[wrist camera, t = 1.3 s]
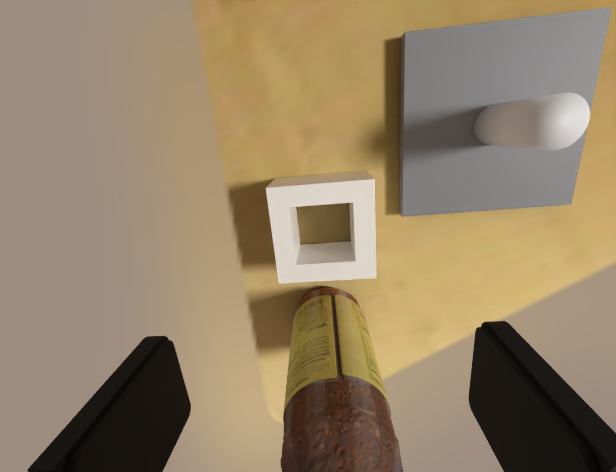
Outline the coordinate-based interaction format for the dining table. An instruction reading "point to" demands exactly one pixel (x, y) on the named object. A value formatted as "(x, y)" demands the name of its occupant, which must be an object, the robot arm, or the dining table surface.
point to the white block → (323, 256)
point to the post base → (482, 80)
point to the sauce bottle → (335, 392)
